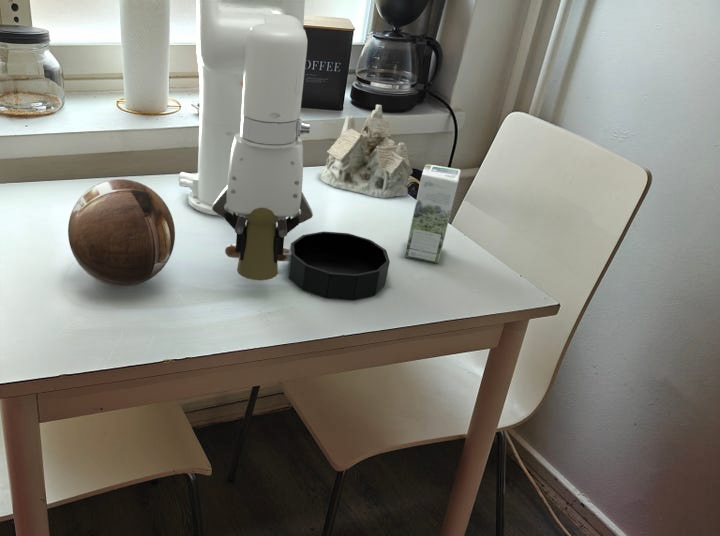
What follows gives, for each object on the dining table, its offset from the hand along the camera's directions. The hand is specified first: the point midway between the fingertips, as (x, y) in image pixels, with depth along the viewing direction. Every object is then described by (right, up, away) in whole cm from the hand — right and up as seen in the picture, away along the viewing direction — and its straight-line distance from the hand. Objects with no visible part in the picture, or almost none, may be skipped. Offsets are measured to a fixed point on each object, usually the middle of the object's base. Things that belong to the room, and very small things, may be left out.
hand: (258, 256), depth 103 cm
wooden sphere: (-20, -3, +3) cm, 21 cm away
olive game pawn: (0, -2, +1) cm, 2 cm away
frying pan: (+7, -1, +9) cm, 11 cm away
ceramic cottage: (+23, +21, +44) cm, 54 cm away
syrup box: (+28, +3, +17) cm, 33 cm away
